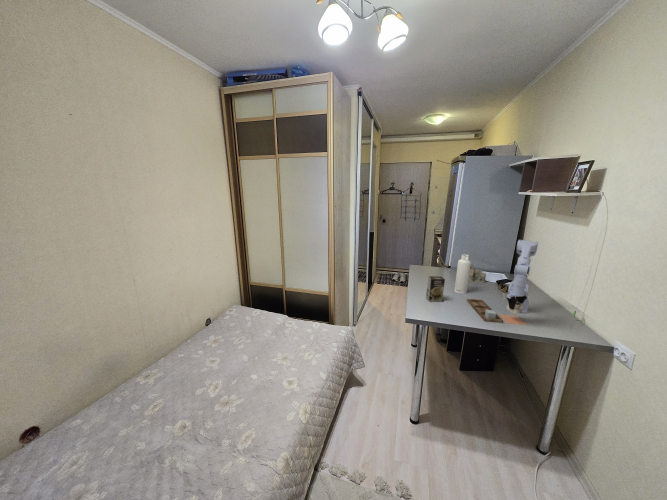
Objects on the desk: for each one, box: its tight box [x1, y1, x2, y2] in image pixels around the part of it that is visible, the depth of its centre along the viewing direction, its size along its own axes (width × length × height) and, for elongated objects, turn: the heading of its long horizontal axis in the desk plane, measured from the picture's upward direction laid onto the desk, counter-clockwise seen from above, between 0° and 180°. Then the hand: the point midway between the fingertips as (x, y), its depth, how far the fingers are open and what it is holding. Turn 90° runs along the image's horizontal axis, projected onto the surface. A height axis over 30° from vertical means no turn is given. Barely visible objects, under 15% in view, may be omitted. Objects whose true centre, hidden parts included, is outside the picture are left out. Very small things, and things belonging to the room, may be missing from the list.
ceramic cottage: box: [468, 261, 487, 284], centre depth 204 cm, size 16×16×15 cm
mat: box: [498, 314, 528, 326], centre depth 143 cm, size 10×10×1 cm
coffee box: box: [425, 275, 446, 303], centre depth 167 cm, size 9×6×16 cm
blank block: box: [485, 309, 497, 319], centre depth 144 cm, size 4×4×4 cm
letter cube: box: [506, 302, 523, 314], centre depth 141 cm, size 5×5×5 cm
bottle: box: [454, 253, 472, 295], centre depth 180 cm, size 8×8×28 cm
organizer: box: [466, 298, 504, 324], centre depth 153 cm, size 10×27×2 cm, turn 172°
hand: (514, 307), depth 141 cm, fingers closed on letter cube, 5 cm apart
